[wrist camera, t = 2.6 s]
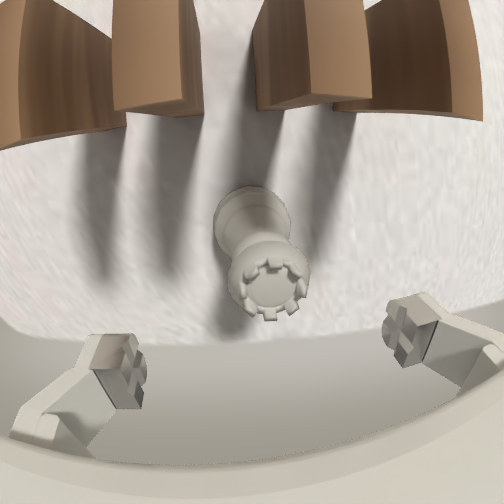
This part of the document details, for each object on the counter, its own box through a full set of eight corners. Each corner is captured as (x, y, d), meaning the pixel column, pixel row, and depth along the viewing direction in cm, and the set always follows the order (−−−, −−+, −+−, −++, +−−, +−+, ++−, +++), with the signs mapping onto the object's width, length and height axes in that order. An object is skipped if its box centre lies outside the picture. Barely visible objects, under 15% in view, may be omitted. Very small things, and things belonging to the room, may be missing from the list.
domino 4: (352, 38, 13) (465, -9, 4) (357, 112, 15) (482, 121, 6) (328, 34, 13) (432, -26, 4) (333, 111, 15) (452, 112, 6)
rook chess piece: (275, 259, 19) (309, 344, 12) (206, 247, 18) (201, 333, 11) (295, 193, 17) (350, 248, 10) (221, 177, 16) (224, 222, 9)
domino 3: (280, 30, 13) (351, -55, 4) (285, 110, 15) (372, 98, 6) (252, 30, 13) (294, -65, 4) (256, 110, 15) (311, 93, 6)
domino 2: (200, 33, 12) (179, -64, 3) (204, 114, 15) (181, 98, 6) (171, 37, 12) (119, -51, 3) (175, 117, 15) (114, 110, 6)
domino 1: (122, 47, 12) (28, -14, 3) (126, 125, 14) (21, 139, 5) (97, 53, 12) (-9, 10, 3) (102, 131, 14) (-15, 154, 5)
